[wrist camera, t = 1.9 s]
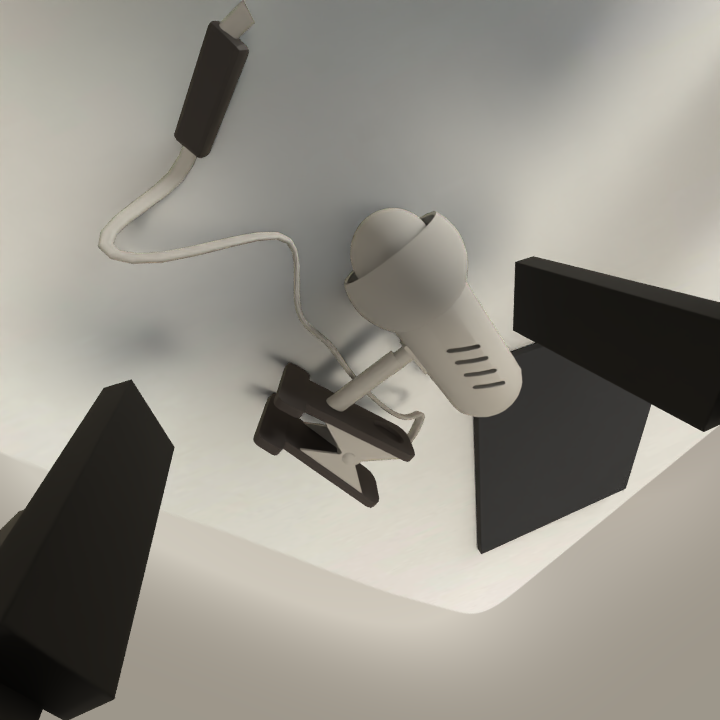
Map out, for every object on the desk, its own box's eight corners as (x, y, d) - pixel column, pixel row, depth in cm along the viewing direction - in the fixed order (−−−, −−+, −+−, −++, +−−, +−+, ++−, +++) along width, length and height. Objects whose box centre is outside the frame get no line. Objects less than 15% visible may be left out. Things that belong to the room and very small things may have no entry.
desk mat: (472, 365, 21) (477, 369, 21) (675, 293, 24) (684, 296, 24) (477, 548, 32) (481, 554, 31) (620, 484, 34) (626, 488, 34)
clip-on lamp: (98, 221, 15) (352, 474, 21) (-49, 217, 9) (361, 569, 15) (302, 21, 13) (517, 358, 19) (282, -144, 7) (601, 415, 13)
